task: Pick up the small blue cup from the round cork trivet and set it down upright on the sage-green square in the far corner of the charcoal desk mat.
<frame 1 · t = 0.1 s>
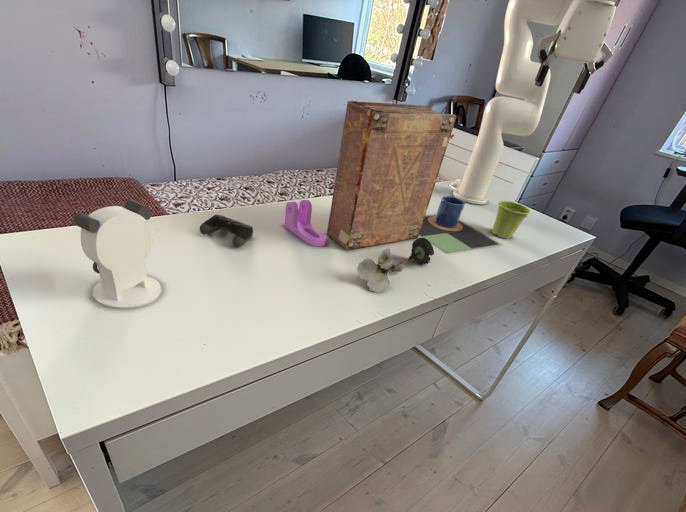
hand: (556, 89, 96), 37 cm above the table, tool pointing down, fingers open, 9 cm apart
white rounded piece: (129, 291, 72), on the table
gaming controller: (228, 238, 94), on the table
blue cup: (445, 223, 121), resting on desk mat
artificial flower: (395, 276, 91), on the table
desk mat: (447, 231, 116), on the table
book: (373, 237, 106), on the table
plant pot: (501, 235, 121), on the table
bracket: (307, 235, 101), on the table
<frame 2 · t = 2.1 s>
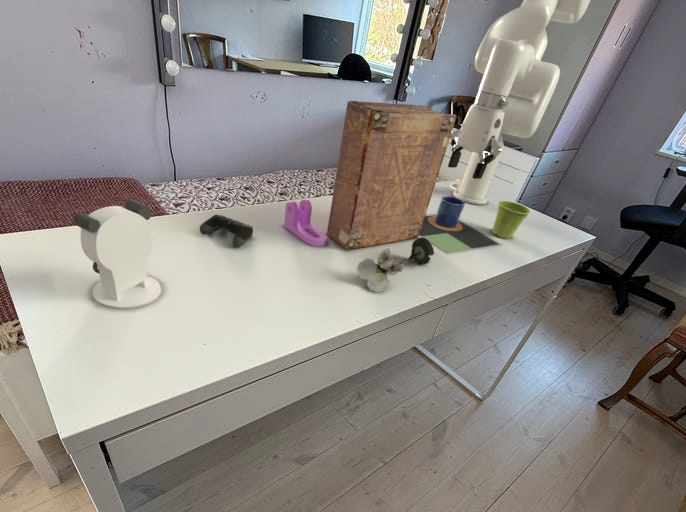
hand: (464, 172, 111), 15 cm above the table, tool pointing down, fingers open, 9 cm apart
nothing on the table moved.
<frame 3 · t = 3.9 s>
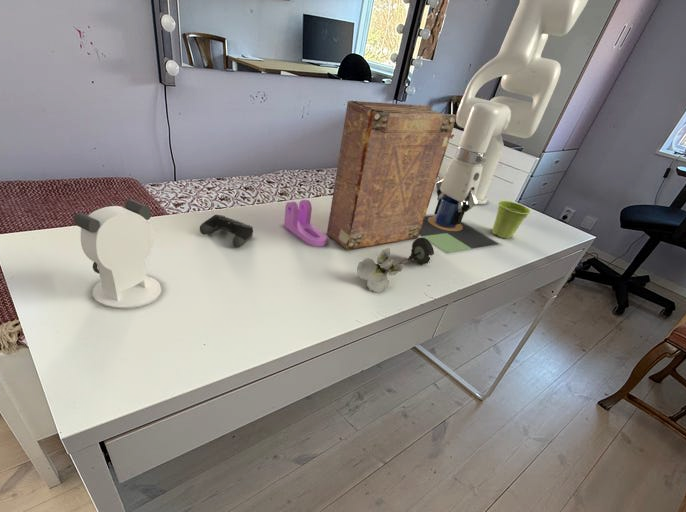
hand: (446, 218, 120), 2 cm above the table, tool pointing down, fingers closed on blue cup, 7 cm apart
blue cup: (445, 223, 121), resting on desk mat, touching gripper
everything else where it was.
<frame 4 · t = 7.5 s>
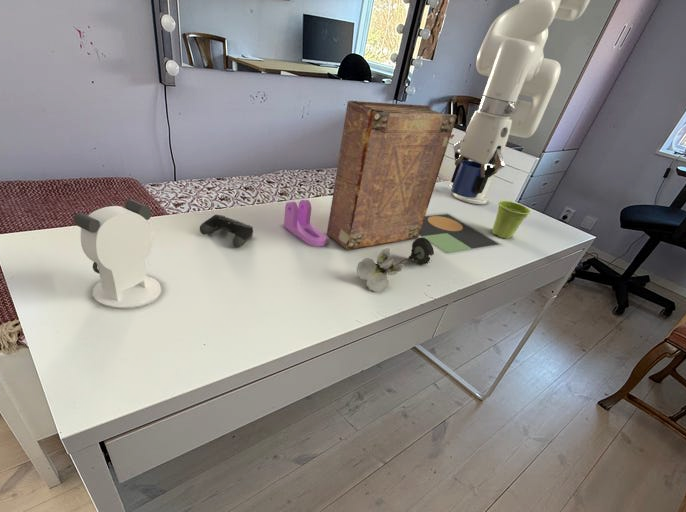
hand: (466, 187, 102), 15 cm above the table, tool pointing down, fingers closed on blue cup, 7 cm apart
blue cup: (463, 192, 103), point 13 cm above the table, touching gripper
everything else where it was.
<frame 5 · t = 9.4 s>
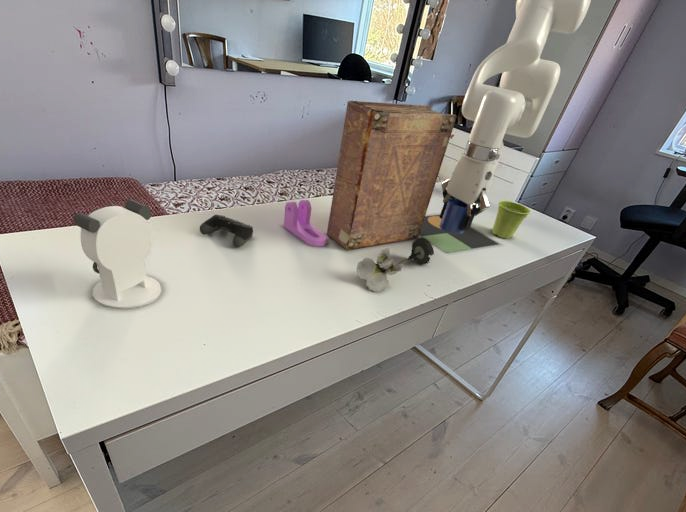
hand: (453, 223, 106), 6 cm above the table, tool pointing down, fingers closed on blue cup, 7 cm apart
blue cup: (451, 228, 107), point 4 cm above the table, touching gripper
everything else where it was.
when the fingers open (2 cm above the table, at t = 11.0 s): blue cup stays where it is, resting on desk mat.
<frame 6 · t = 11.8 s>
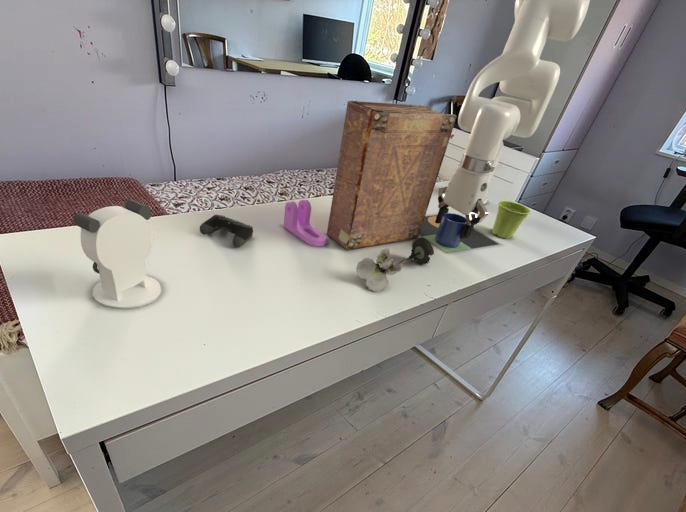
hand: (451, 230, 108), 4 cm above the table, tool pointing down, fingers open, 9 cm apart
blue cup: (446, 242, 110), resting on desk mat
everything else where it was.
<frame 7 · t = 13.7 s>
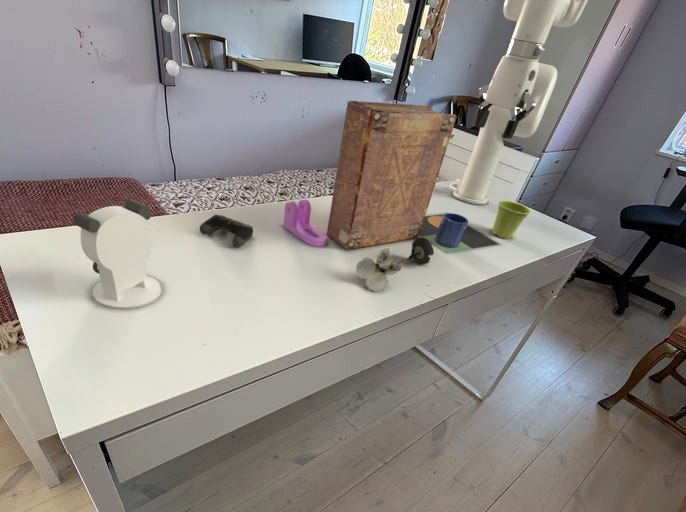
hand: (492, 132, 104), 26 cm above the table, tool pointing down, fingers open, 9 cm apart
nothing on the table moved.
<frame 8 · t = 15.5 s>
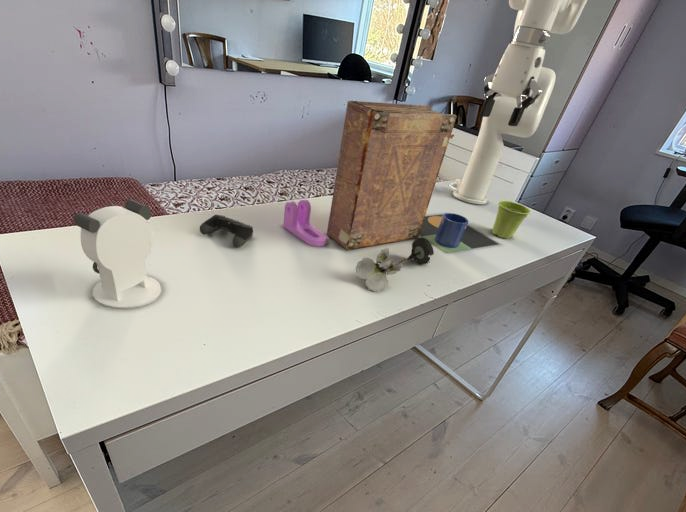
hand: (498, 121, 104), 28 cm above the table, tool pointing down, fingers open, 9 cm apart
nothing on the table moved.
at the end: blue cup inside the target area (0.0 cm from its centre), resting on desk mat; blue cup tilted 0°; the gripper is holding nothing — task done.
